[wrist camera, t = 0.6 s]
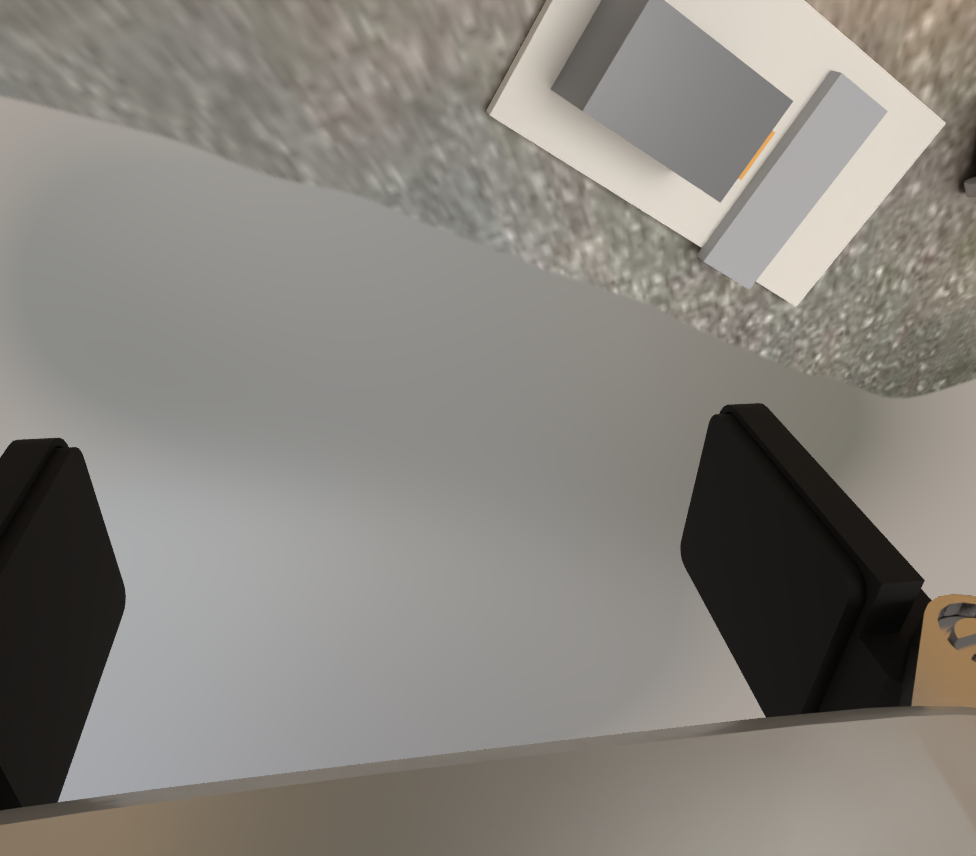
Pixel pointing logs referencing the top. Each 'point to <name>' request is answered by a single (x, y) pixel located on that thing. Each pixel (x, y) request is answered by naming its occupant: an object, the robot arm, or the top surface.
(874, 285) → the top surface
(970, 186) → the electrical switch
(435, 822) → the robot arm
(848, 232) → the plate
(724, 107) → the block
